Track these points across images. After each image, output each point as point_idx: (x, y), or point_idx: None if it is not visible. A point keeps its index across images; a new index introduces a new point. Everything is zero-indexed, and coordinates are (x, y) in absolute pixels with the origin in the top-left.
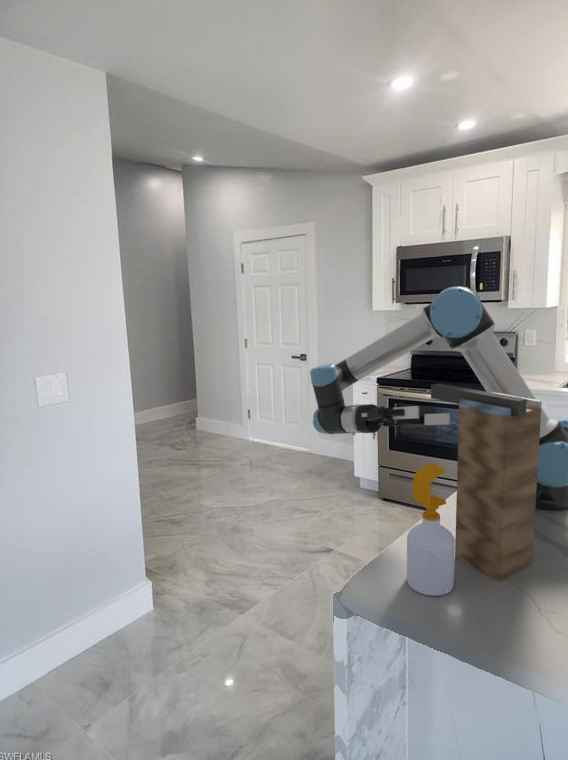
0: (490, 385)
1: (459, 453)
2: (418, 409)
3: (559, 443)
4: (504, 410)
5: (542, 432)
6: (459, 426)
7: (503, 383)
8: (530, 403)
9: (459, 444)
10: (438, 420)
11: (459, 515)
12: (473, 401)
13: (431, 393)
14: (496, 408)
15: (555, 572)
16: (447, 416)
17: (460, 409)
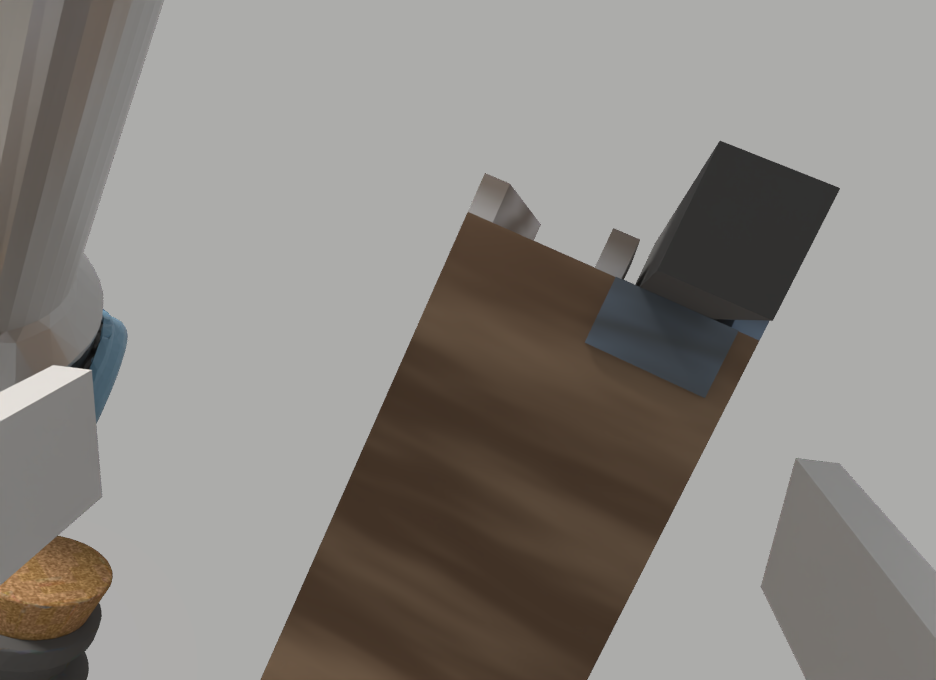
0: (116, 19)
1: (628, 593)
2: (800, 496)
3: (116, 319)
4: None
5: (96, 290)
6: (701, 450)
7: (156, 21)
8: (530, 233)
9: (652, 546)
10: (2, 527)
11: None
12: None
13: (796, 273)
14: None
15: None
16: (92, 414)
17: (750, 354)
